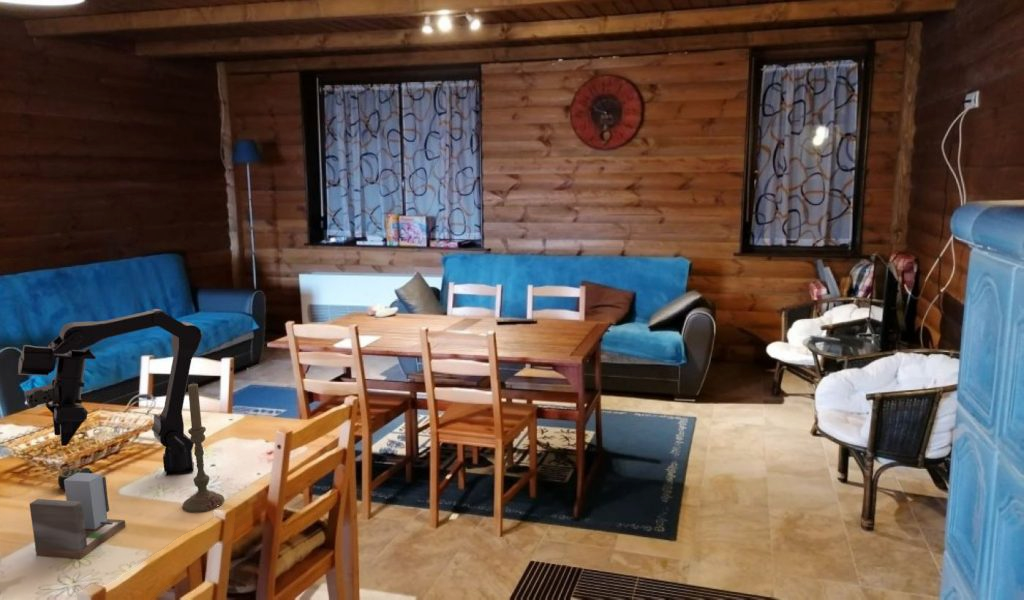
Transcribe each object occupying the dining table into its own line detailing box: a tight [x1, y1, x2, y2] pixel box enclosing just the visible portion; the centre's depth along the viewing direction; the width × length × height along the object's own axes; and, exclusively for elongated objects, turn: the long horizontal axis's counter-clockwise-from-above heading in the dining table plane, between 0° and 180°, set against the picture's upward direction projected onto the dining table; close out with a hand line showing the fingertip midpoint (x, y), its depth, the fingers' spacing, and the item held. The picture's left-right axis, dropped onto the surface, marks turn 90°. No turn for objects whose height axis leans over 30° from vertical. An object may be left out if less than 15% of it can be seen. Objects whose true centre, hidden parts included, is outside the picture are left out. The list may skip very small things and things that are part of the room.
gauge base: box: [29, 498, 126, 560], centre depth 156 cm, size 14×10×12 cm
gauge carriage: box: [64, 472, 113, 529], centre depth 160 cm, size 5×9×11 cm, turn 82°
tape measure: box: [57, 467, 93, 490], centre depth 185 cm, size 7×7×4 cm
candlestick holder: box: [182, 381, 225, 513], centre depth 172 cm, size 9×9×30 cm
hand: (60, 440), depth 175 cm, fingers open, 9 cm apart
